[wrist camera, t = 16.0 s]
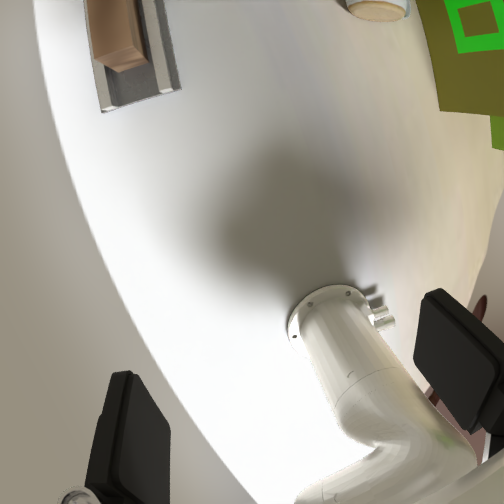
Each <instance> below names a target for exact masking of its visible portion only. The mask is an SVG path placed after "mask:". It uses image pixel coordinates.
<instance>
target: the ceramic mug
mask: <svg viewBox="0 0 504 504" xmlns="http://www.w3.org/2000/svg"><path fill="white" fill-rule="evenodd" d="M346 4H347V7H348V10H349V11H350V13H352V14H353V15H354V16H356V17H358V18H361V19H365V20H370V21H379V22H390V21H397V20H401V19H407V18H408V17H409V16H410V13H411V4H410V0H346Z"/></svg>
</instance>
